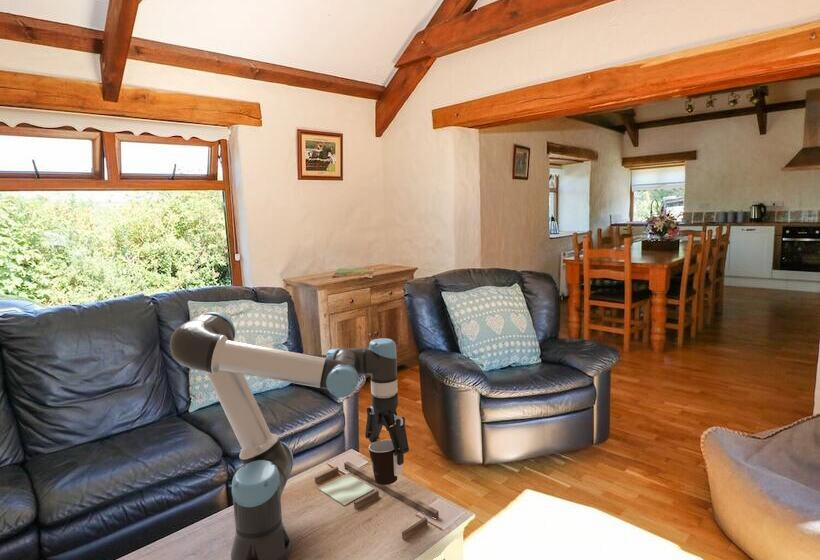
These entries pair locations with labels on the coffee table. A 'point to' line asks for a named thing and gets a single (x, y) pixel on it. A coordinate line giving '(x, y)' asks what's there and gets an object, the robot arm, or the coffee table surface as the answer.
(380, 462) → the coffee mug
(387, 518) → the coffee table surface
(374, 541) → the coffee table surface
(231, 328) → the robot arm
